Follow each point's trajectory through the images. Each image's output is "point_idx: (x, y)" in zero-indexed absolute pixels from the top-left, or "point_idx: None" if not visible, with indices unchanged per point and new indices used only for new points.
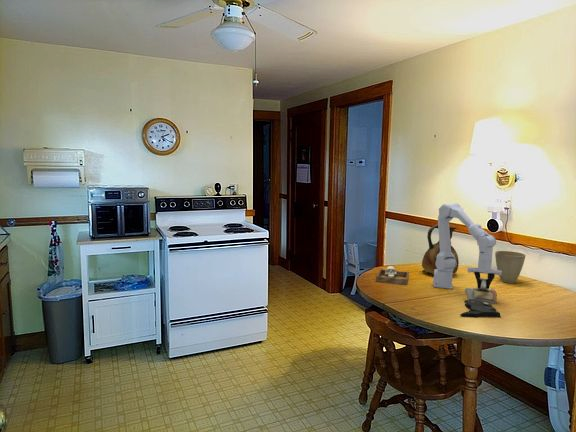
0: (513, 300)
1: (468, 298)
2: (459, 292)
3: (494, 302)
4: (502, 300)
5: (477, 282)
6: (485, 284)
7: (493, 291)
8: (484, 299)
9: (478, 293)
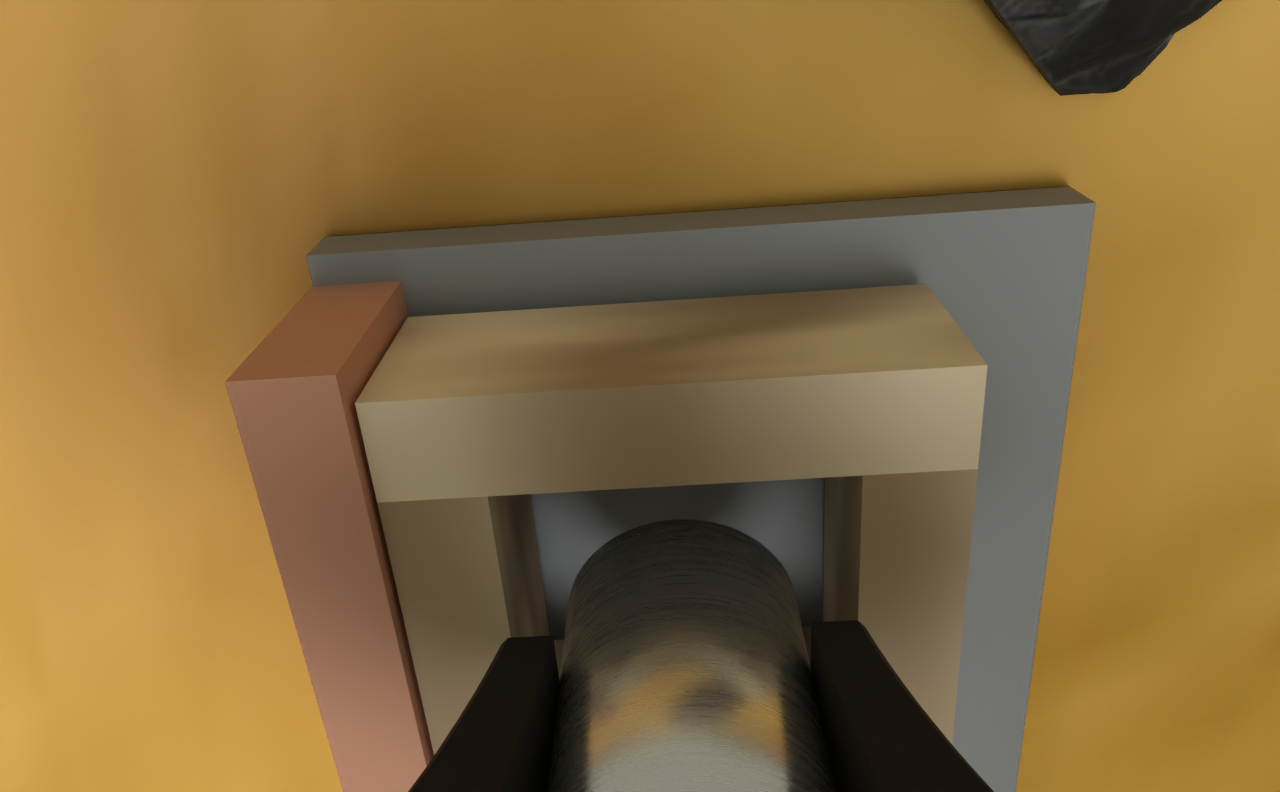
0: (3, 650)
1: (1084, 235)
2: (1153, 727)
3: (370, 242)
4: (218, 557)
5: (966, 766)
6: (616, 741)
7: (361, 606)
8: (634, 302)
9: (840, 354)
